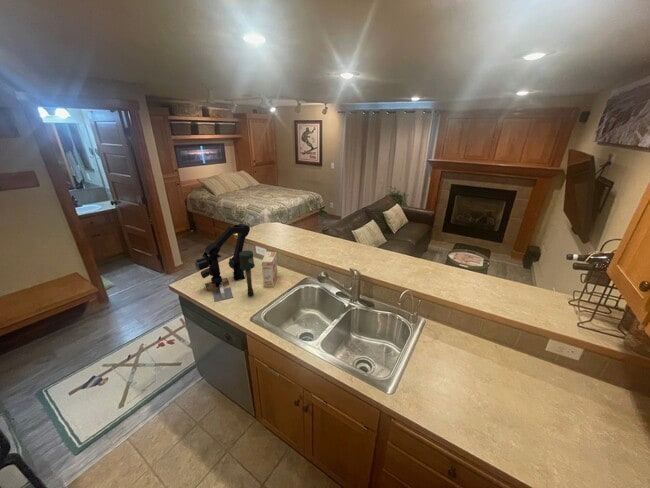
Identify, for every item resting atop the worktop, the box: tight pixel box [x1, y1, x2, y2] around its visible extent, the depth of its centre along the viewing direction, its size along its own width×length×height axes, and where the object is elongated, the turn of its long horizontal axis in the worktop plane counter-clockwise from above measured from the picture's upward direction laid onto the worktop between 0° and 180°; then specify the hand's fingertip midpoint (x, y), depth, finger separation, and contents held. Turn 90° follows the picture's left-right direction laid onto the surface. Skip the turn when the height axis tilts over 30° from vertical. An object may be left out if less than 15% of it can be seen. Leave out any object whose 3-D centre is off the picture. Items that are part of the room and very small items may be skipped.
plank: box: [204, 277, 230, 292], centre depth 173 cm, size 14×4×4 cm, turn 125°
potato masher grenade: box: [239, 250, 256, 297], centre depth 159 cm, size 8×9×30 cm
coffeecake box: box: [261, 251, 279, 288], centre depth 177 cm, size 15×7×20 cm, turn 179°
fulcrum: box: [212, 284, 234, 303], centre depth 165 cm, size 11×12×4 cm
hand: (217, 285), depth 173 cm, fingers open, 4 cm apart
